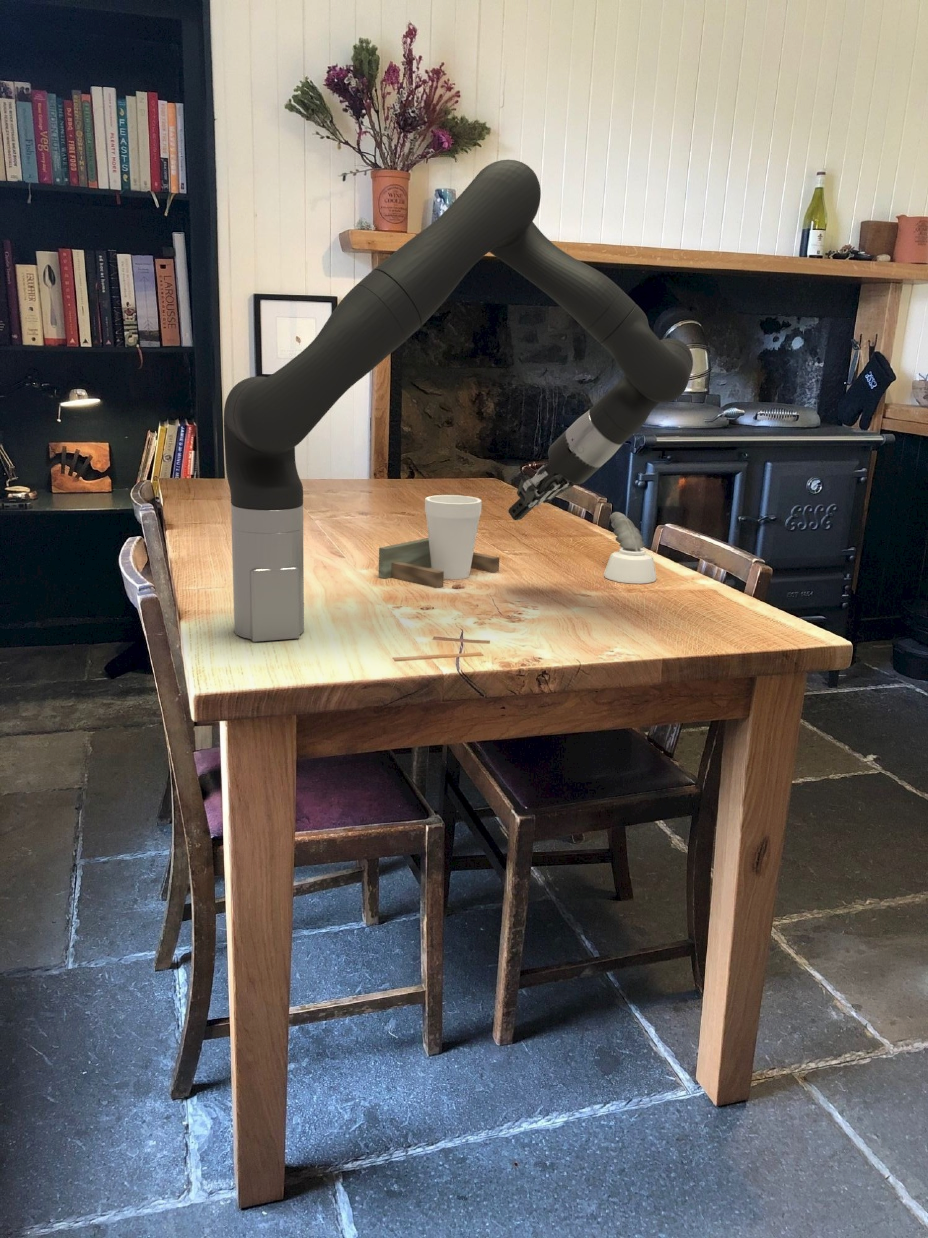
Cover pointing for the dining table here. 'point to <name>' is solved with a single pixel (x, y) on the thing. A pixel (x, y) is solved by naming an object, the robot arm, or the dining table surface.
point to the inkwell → (629, 555)
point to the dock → (422, 563)
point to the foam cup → (452, 533)
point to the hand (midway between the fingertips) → (513, 515)
